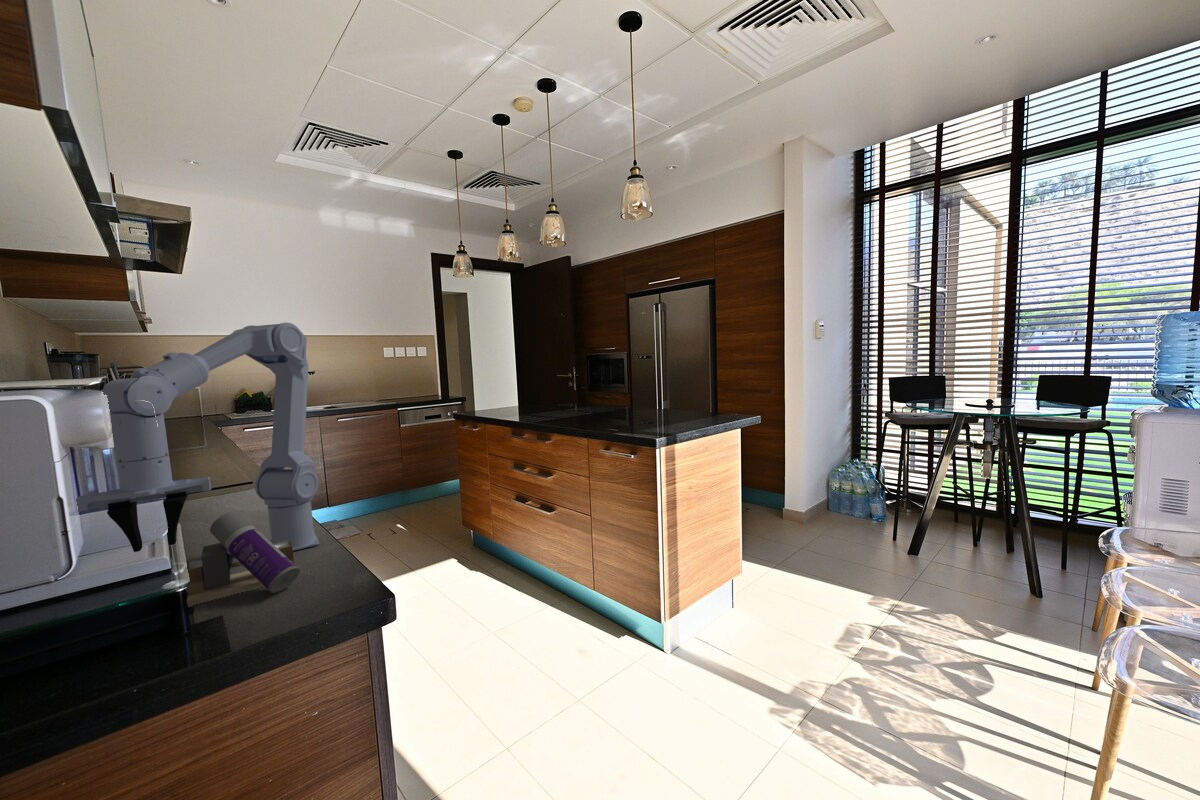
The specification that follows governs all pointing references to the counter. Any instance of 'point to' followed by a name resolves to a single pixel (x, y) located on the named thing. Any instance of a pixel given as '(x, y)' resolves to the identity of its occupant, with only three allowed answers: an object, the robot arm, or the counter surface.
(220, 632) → the counter surface
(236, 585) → the base board
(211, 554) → the upright grey rectangular block
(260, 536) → the container
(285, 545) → the dark long bar
